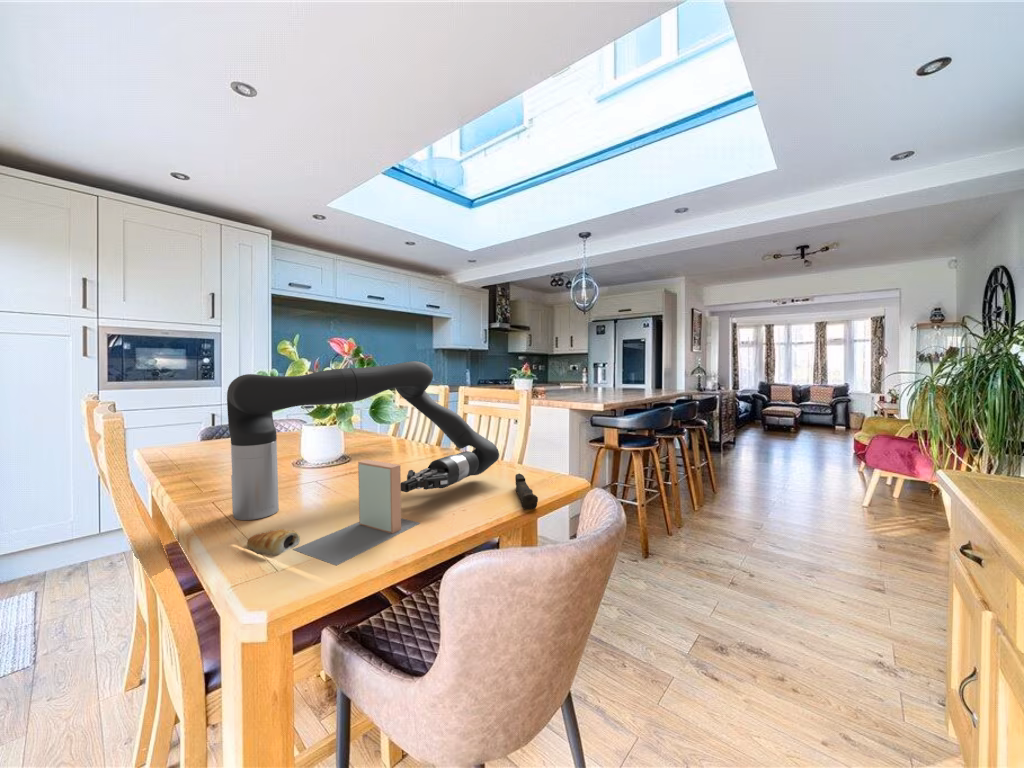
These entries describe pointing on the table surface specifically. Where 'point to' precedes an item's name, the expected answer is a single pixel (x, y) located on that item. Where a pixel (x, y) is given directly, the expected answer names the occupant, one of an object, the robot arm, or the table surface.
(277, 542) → the pastry
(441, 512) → the table surface
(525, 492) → the hand tool
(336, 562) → the mat
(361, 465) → the tile
